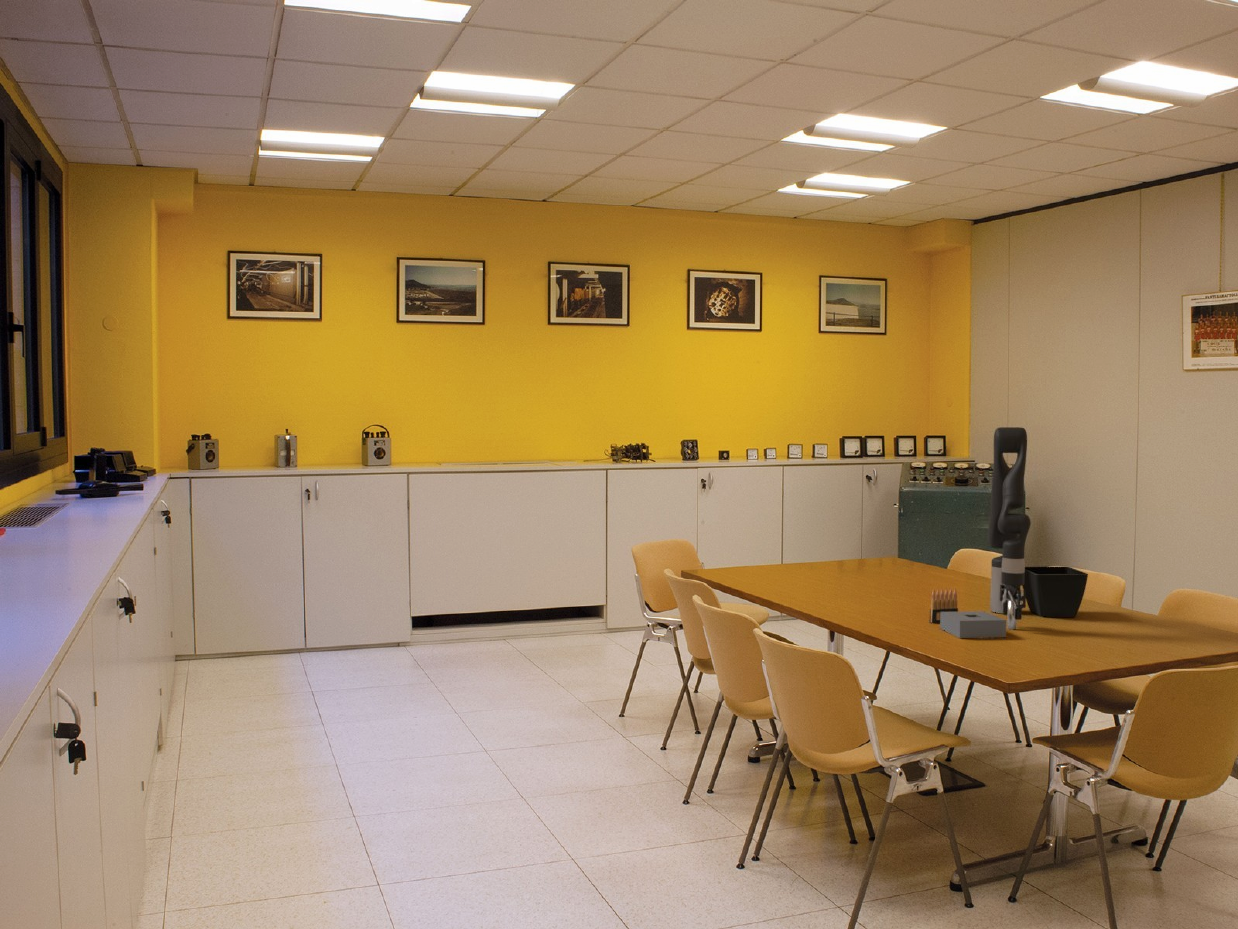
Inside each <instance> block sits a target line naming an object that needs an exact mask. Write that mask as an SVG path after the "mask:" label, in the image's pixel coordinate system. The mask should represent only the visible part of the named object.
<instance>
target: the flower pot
mask: <svg viewBox="0 0 1238 929" xmlns="http://www.w3.org/2000/svg"><path fill="white" fill-rule="evenodd" d="M1088 576H1089V574H1088V573H1086V572H1084V571H1082V570H1079V569H1075V568H1073V567H1070V566H1025V580H1024V585H1021V587H1022V589H1023V590H1025V591H1026V603H1027V607H1028V609H1029V611H1030V612H1031V611H1032V612H1031V613H1033V614H1035V613H1036V614H1035V615H1037V616H1039V617H1041V616H1046V617H1045V618H1075V617H1076V616H1077V615H1078V612H1079V609H1080V607H1081V604H1082V603H1083V598H1084V596H1085V591H1086V586H1087V583H1088Z"/></svg>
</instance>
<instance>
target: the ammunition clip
mask: <svg viewBox="0 0 1238 929" xmlns="http://www.w3.org/2000/svg"><path fill="white" fill-rule="evenodd" d="M952 590H953V589H951V588H950V590H949V592H948V590H947V588H946V589H945V591H944V590H943V589H941V590H940V591H939V589H937V590H936V592H935V589H933V590H932V592H931V593H932V594H931V601H930V609H929V620H928V621H929V624H932V623H938V624H940V612H959V608H958V596H957V595H958V594H957V593H958V592H957V589H956V588H954V590H953V591H952Z"/></svg>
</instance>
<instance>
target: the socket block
mask: <svg viewBox="0 0 1238 929" xmlns="http://www.w3.org/2000/svg"><path fill="white" fill-rule="evenodd" d="M939 630H941V631H943V630H945V631H946V633H947V632H948V633H947V634H949V633H951V634H953V635H954V636H953V635H952V636H953V637H955V636H956V638H957V637H959V638H978V639H989V638H988V637H991V638H990V639H995V638H994V637H1006V638H1007V619H1004V618H1002V617H999V616H997V615H994V614H993V613H990V612H987V611H986V610H982V611H981V610H978V611H977V610H975V611H971V610H970V611H958V612H940V623H939ZM945 631H944V632H945ZM951 634H950V635H951ZM981 637H982V638H981ZM984 637H985V638H984ZM959 638H958V639H959Z"/></svg>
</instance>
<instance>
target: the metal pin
mask: <svg viewBox="0 0 1238 929" xmlns="http://www.w3.org/2000/svg"><path fill="white" fill-rule="evenodd" d="M1006 616H1007V618H1006V630H1009V629H1013V630H1012V631H1015V630H1014V629H1016V630H1017V624H1018V623H1017V622H1018V621H1017V620H1016V619H1015V607H1014V604H1013V603H1012V601H1011V600H1008V615H1006Z"/></svg>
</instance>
